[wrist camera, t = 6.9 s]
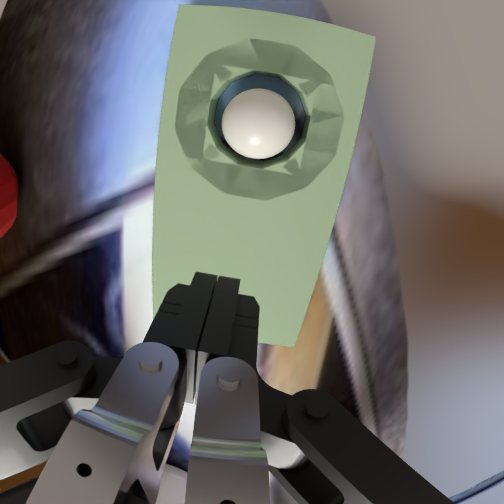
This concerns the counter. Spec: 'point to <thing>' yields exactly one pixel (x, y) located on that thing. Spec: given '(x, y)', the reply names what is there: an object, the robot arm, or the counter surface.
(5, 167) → the apple
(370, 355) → the counter surface
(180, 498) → the bottle
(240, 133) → the ball
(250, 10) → the green
